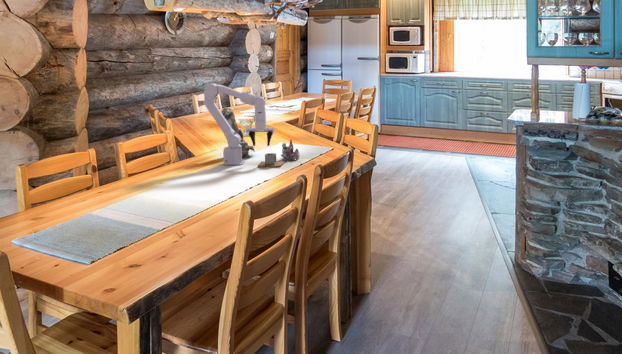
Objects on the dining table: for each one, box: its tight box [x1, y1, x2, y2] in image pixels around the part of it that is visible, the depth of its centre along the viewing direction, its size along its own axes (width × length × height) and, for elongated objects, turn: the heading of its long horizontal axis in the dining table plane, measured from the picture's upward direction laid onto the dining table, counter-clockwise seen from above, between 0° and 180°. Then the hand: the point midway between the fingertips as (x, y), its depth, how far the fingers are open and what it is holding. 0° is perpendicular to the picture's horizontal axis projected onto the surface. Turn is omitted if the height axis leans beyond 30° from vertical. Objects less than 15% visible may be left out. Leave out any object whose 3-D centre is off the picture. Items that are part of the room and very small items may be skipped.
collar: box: [264, 152, 277, 165], centre depth 295 cm, size 5×5×5 cm
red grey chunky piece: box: [280, 139, 301, 161], centre depth 311 cm, size 11×11×12 cm
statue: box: [220, 106, 256, 157], centre depth 321 cm, size 16×18×30 cm
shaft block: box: [257, 161, 285, 168], centre depth 296 cm, size 12×10×4 cm
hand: (261, 145), depth 301 cm, fingers open, 7 cm apart
